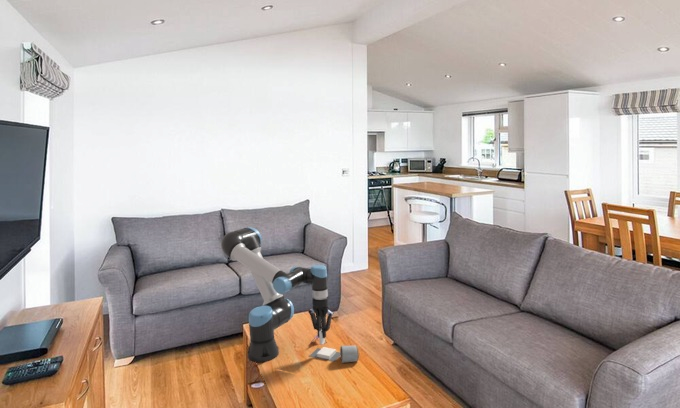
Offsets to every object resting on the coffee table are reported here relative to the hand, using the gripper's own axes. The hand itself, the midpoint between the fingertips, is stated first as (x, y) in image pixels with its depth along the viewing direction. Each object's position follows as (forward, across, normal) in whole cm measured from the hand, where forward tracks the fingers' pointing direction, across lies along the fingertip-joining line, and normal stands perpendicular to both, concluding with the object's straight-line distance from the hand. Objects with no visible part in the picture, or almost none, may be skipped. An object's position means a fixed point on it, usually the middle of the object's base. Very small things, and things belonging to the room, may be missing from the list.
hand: (322, 343), depth 207 cm
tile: (+5, -2, 0) cm, 5 cm away
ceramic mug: (+6, +14, 0) cm, 15 cm away
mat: (+6, +2, 0) cm, 6 cm away
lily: (+6, -8, +11) cm, 15 cm away
